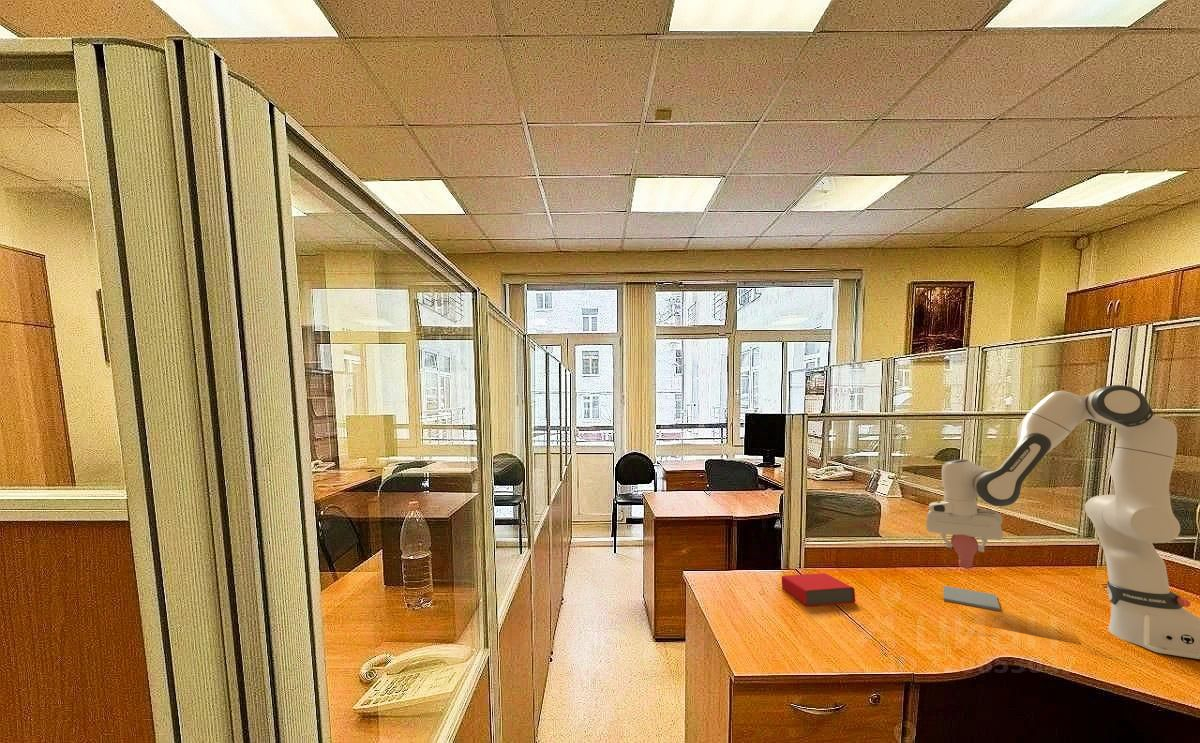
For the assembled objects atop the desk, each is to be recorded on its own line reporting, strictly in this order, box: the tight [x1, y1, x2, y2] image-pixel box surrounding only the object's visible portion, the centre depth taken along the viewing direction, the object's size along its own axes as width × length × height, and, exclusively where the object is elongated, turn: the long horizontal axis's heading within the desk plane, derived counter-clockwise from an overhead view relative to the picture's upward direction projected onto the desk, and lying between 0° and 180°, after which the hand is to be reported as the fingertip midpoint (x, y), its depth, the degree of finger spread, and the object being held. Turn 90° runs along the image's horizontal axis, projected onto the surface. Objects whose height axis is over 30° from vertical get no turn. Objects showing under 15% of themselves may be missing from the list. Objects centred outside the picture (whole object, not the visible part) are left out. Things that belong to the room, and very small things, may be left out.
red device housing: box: [781, 572, 856, 607], centre depth 152 cm, size 18×14×5 cm
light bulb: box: [950, 535, 979, 570], centre depth 149 cm, size 7×7×12 cm
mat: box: [942, 585, 1001, 612], centre depth 147 cm, size 14×14×1 cm
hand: (964, 549), depth 149 cm, fingers closed on light bulb, 7 cm apart
